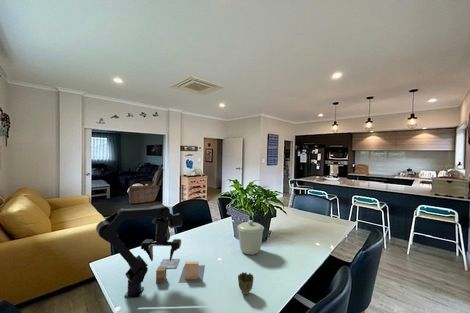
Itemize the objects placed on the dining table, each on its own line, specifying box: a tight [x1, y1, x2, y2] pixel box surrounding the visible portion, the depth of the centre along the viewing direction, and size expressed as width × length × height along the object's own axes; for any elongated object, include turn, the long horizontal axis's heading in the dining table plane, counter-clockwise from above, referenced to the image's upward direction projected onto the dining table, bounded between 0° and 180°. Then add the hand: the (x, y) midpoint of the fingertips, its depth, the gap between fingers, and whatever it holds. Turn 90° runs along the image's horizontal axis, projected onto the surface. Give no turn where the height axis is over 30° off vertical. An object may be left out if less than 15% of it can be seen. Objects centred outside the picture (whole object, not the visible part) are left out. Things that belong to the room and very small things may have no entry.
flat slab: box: [184, 261, 200, 279], centre depth 108 cm, size 2×7×8 cm, turn 94°
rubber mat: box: [178, 264, 206, 284], centre depth 113 cm, size 16×12×1 cm
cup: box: [237, 271, 255, 296], centre depth 98 cm, size 8×7×8 cm
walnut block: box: [155, 265, 168, 284], centre depth 106 cm, size 4×4×7 cm
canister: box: [237, 219, 265, 256], centre depth 141 cm, size 18×18×21 cm
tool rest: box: [158, 258, 180, 270], centre depth 122 cm, size 10×10×1 cm
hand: (161, 260), depth 105 cm, fingers open, 9 cm apart
